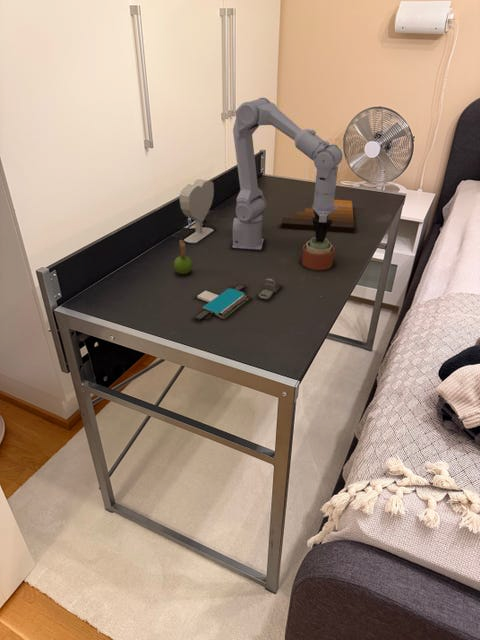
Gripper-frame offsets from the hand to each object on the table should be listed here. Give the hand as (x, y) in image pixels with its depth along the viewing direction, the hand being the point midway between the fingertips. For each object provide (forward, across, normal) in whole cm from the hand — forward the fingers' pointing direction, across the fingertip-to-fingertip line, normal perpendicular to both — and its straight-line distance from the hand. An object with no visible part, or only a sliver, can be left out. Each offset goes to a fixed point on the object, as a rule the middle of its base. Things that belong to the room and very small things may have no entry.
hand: (319, 236), depth 141 cm
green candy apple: (+9, -13, +39) cm, 42 cm away
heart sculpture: (+9, +15, +40) cm, 44 cm away
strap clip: (+9, -20, +13) cm, 25 cm away
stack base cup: (+9, 0, 0) cm, 9 cm away
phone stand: (+9, -27, +26) cm, 39 cm away
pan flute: (+9, +37, 0) cm, 38 cm away
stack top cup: (+9, 0, 0) cm, 9 cm away
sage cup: (+8, 0, 0) cm, 9 cm away
